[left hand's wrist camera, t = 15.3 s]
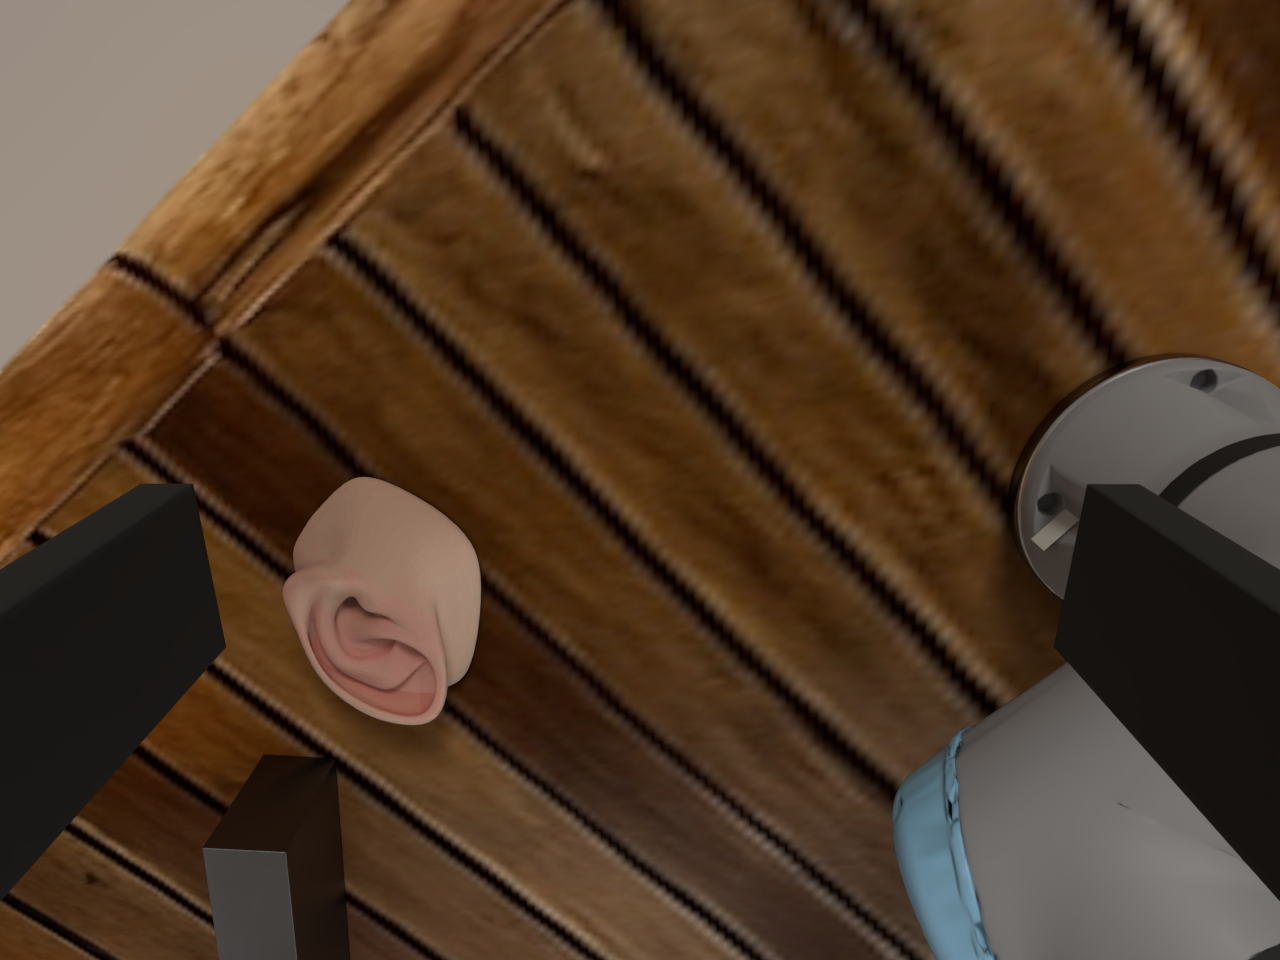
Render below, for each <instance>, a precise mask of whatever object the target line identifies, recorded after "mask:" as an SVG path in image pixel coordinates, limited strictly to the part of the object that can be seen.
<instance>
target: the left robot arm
mask: <svg viewBox="0 0 1280 960" xmlns="http://www.w3.org/2000/svg"><path fill="white" fill-rule="evenodd" d="M1010 521H1011V527H1012V532H1013V536H1014V539H1015V542H1016V545H1017V547H1018V550H1019V552H1020V554H1021V556H1022V558H1023V559H1024V561H1025V562H1026V564H1027V565H1028V567H1029V568H1030V569H1031V570H1032V572H1033V573H1034V574H1035V575H1036V576H1037V577H1038V578H1039V579H1040V580H1041V581H1042V582H1043V583H1044V584H1045V585H1046V586H1047V587H1048V588H1049V589H1050V590H1051V591H1052V592H1053V593H1055V594H1056V595H1057V596H1059V597H1060V598H1061V599H1063V605H1062V610H1061V615H1060V620H1059V625H1058V630H1057V635H1056V640H1055V645H1054V647H1055V649H1056V650H1057V651H1058V652H1059V653H1060V654H1061V655H1062V657H1063V658H1064V659H1065V660H1066V661H1067V662H1066V663H1065V664H1063V665H1062V666H1060V667H1059V668H1057V669H1056V670H1055V671H1053V672H1052V673H1050V674H1049V675H1047V676H1046V677H1045V678H1043V679H1042V680H1040V681H1039V682H1037V683H1036V684H1034V685H1033V686H1032V687H1030V688H1029V689H1027V690H1026V691H1024V692H1023V693H1022V694H1020V695H1019V696H1017V697H1016V698H1014V699H1013V700H1011V701H1010V702H1009V703H1007V704H1006V705H1004V706H1003V707H1001V708H1000V709H998V710H997V711H995V712H993V713H992V714H990V715H989V716H987V717H986V718H984V719H983V720H981V721H980V722H978V723H977V724H975V725H974V726H972V727H966V728H964V729H961V730H960V731H959V732H956V733H955V734H954V736H953V737H952V739H951V741H950V743H949V744H948V745H947V746H945V747H944V748H943V749H942V750H940V751H939V752H938V753H937V754H935V755H934V756H933V757H932V758H930V759H929V760H928V761H927V762H926V763H924V764H923V765H922V766H920V767H919V768H918V769H916V770H915V771H914V772H912V773H911V774H910V775H909V776H908V777H907V778H906V779H905V780H904V781H903V783H902V784H901V786H900V787H899V789H898V791H897V794H896V796H895V800H894V805H893V812H892V820H893V840H894V846H895V852H896V856H897V861H898V865H899V868H900V872H901V875H902V879H903V882H904V885H905V888H906V891H907V894H908V896H909V899H910V902H911V904H912V907H913V910H914V912H915V915H916V917H917V919H918V922H919V924H920V927H921V929H922V931H923V933H924V935H925V938H926V940H927V942H928V944H929V946H930V948H931V950H932V952H933V954H934V956H935V958H936V960H1280V389H1279V388H1278V387H1277V386H1275V385H1274V384H1272V383H1271V382H1269V381H1267V380H1266V379H1264V378H1262V377H1260V376H1259V375H1257V374H1255V373H1253V372H1252V371H1250V370H1248V369H1245V368H1243V367H1240V366H1238V365H1235V364H1232V363H1229V362H1226V361H1222V360H1219V359H1215V358H1212V357H1208V356H1203V355H1196V354H1184V353H1172V354H1160V355H1153V356H1147V357H1143V358H1139V359H1135V360H1132V361H1129V362H1125V363H1122V364H1120V365H1117V366H1115V367H1113V368H1110V369H1108V370H1106V371H1104V372H1102V373H1100V374H1098V375H1096V376H1095V377H1093V378H1091V379H1090V380H1088V381H1086V382H1085V383H1083V384H1082V385H1080V386H1079V387H1078V388H1076V389H1075V390H1074V391H1072V392H1071V393H1070V394H1068V395H1067V396H1066V397H1065V398H1064V399H1063V400H1062V401H1061V402H1059V403H1058V404H1057V405H1056V406H1055V407H1054V408H1053V410H1052V411H1051V412H1050V413H1049V414H1048V415H1047V416H1046V417H1045V419H1044V420H1043V421H1042V422H1041V424H1040V425H1039V426H1038V427H1037V429H1036V430H1035V432H1034V433H1033V435H1032V436H1031V438H1030V440H1029V441H1028V443H1027V445H1026V447H1025V449H1024V451H1023V453H1022V455H1021V457H1020V460H1019V462H1018V465H1017V468H1016V471H1015V474H1014V478H1013V482H1012V487H1011V494H1010ZM225 647H226V645H225V640H224V635H223V630H222V625H221V620H220V615H219V610H218V605H217V600H216V595H215V590H214V585H213V580H212V575H211V571H210V566H209V561H208V556H207V551H206V546H205V541H204V536H203V531H202V526H201V521H200V516H199V511H198V506H197V501H196V496H195V491H194V487H193V484H140V485H138V486H137V487H135V488H133V489H132V490H130V491H129V492H127V493H125V494H124V495H122V496H120V497H119V498H117V499H115V500H114V501H112V502H110V503H109V504H107V505H106V506H104V507H102V508H101V509H99V510H97V511H96V512H94V513H92V514H91V515H89V516H87V517H86V518H84V519H83V520H81V521H79V522H78V523H76V524H74V525H73V526H71V527H69V528H68V529H66V530H64V531H63V532H61V533H60V534H58V535H56V536H55V537H53V538H51V539H50V540H48V541H46V542H45V543H43V544H41V545H40V546H38V547H37V548H35V549H33V550H32V551H30V552H28V553H27V554H25V555H23V556H22V557H20V558H18V559H17V560H15V561H14V562H12V563H10V564H9V565H7V566H5V567H4V568H2V569H0V901H1V900H2V899H3V898H4V897H5V896H6V894H7V893H8V892H9V891H10V890H11V889H12V888H13V887H14V885H15V884H16V883H17V882H18V881H19V880H20V879H21V878H22V876H23V875H24V874H25V873H26V872H27V871H28V870H29V868H30V867H31V866H32V865H33V864H34V863H35V862H36V861H37V859H38V858H39V857H40V856H41V855H42V854H43V853H44V852H45V850H46V849H47V848H48V847H49V846H50V845H51V844H52V843H53V841H54V840H55V839H56V838H57V837H58V836H59V835H60V834H61V832H62V831H63V830H64V829H65V828H66V827H67V826H68V825H69V823H70V822H71V821H72V820H73V819H74V818H75V817H76V816H77V814H78V813H79V812H80V811H81V810H82V809H83V808H84V806H85V805H86V804H87V803H88V802H89V801H90V800H91V799H92V797H93V796H94V795H95V794H96V793H97V792H98V791H99V790H100V788H101V787H102V786H103V785H104V784H105V783H106V782H107V781H108V779H109V778H110V777H111V776H112V775H113V774H114V773H115V772H116V770H117V769H118V768H119V767H120V766H121V765H122V764H123V763H124V761H125V760H126V759H127V758H128V757H129V756H130V755H131V753H132V752H133V751H134V750H135V749H136V748H137V747H138V746H139V744H140V743H141V742H142V741H143V740H144V739H145V738H146V737H147V735H148V734H149V733H150V732H151V731H152V730H153V729H154V728H155V726H156V725H157V724H158V723H159V722H160V721H161V720H162V719H163V717H164V716H165V715H166V714H167V713H168V712H169V711H170V710H171V708H172V707H173V706H174V705H175V704H176V703H177V702H178V700H179V699H180V698H181V697H182V696H183V695H184V694H185V693H186V691H187V690H188V689H189V688H190V687H191V686H192V685H193V684H194V682H195V681H196V680H197V679H198V678H199V677H200V676H201V675H202V673H203V672H204V671H205V670H206V669H207V668H208V667H209V666H210V664H211V663H212V662H213V661H214V660H215V659H216V658H217V657H218V655H219V654H220V653H221V652H222V651H223V650H224V649H225Z"/></svg>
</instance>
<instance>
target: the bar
mask: <svg viewBox="0 0 1280 960" xmlns="http://www.w3.org/2000/svg"><path fill="white" fill-rule="evenodd" d="M203 855H204V861H205V868H206V875H207V882H208V888H209V895H210V902H211V908H212V915H213V922H214V929H215V935H216V942H217V949H218V955H219V960H350V955H349V942H348V928H347V914H346V901H345V887H344V873H343V860H342V846H341V833H340V819H339V805H338V792H337V778H336V764H335V759H330V758H312V757H294V756H276V755H263V757H262V758H261V760H260V761H259V763H258V764H257V766H256V767H255V769H254V770H253V772H252V773H251V775H250V777H249V778H248V780H247V781H246V783H245V784H244V786H243V787H242V789H241V790H240V792H239V793H238V795H237V796H236V798H235V799H234V801H233V803H232V804H231V806H230V807H229V809H228V810H227V812H226V813H225V815H224V816H223V818H222V819H221V821H220V822H219V824H218V826H217V827H216V829H215V830H214V832H213V833H212V835H211V836H210V838H209V839H208V841H207V842H206V844H205V845H204V847H203Z"/></svg>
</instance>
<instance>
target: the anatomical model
mask: <svg viewBox="0 0 1280 960" xmlns="http://www.w3.org/2000/svg"><path fill="white" fill-rule="evenodd" d="M293 559H294V566H295V571H296V572H295V573H294V574H292V575H291V576H290V577H289V578H288V579H287V581H286V582H285V584H284V587H283V599H284V602H285V605H286V608H287V610H288V612H289V615H290V617H291V619H292V622H293V624H294V627H295V629H296V631H297V634H298V636H299V639H300V641H301V644H302V646H303V648H304V650H305V653H306V655H307V657H308V659H309V661H310V663H311V664H312V666H313V668H314V670H315V671H316V673H317V674H318V675H319V677H320V678H321V679H322V681H323V682H324V683H325V684H326V685H327V686H328V687H329V688H330V689H331V690H332V691H333V692H334V693H335V694H337V695H338V696H339V697H340V698H342V699H343V700H344V701H345V702H347V703H348V704H350V705H352V706H353V707H355V708H356V709H358V710H360V711H361V712H363V713H365V714H367V715H369V716H372V717H374V718H377V719H380V720H383V721H387V722H391V723H396V724H402V725H420V724H425V723H428V722H430V721H432V720H433V719H435V718H436V717H437V716H438V714H439V713H440V712H441V710H442V708H443V706H444V703H445V699H446V695H447V687H448V686H450V685H452V684H454V683H456V682H458V681H459V680H460V679H461V678H462V677H463V676H464V675H465V673H466V672H467V670H468V668H469V666H470V663H471V660H472V657H473V654H474V650H475V644H476V639H477V633H478V626H479V617H480V603H481V579H480V568H479V563H478V559H477V556H476V553H475V550H474V548H473V546H472V544H471V543H470V541H469V540H468V538H467V537H466V536H465V534H464V533H463V532H462V531H461V530H460V529H459V528H458V527H457V526H456V525H455V524H454V523H453V522H452V521H451V520H450V519H448V518H447V517H446V516H445V515H444V514H442V513H441V512H439V511H438V510H437V509H435V508H434V507H432V506H431V505H429V504H428V503H426V502H424V501H423V500H421V499H419V498H418V497H416V496H414V495H412V494H410V493H409V492H407V491H405V490H403V489H401V488H399V487H397V486H394V485H392V484H390V483H388V482H385V481H382V480H379V479H375V478H370V477H358V478H354V479H352V480H350V481H348V482H346V483H345V484H343V485H342V486H341V487H340V488H338V489H337V490H336V491H335V492H334V493H333V494H332V495H331V496H330V497H329V498H328V499H327V500H326V501H325V502H324V503H323V505H322V506H321V507H320V508H319V509H318V510H317V511H316V512H315V513H314V515H313V516H312V517H311V518H310V520H309V521H308V523H307V525H306V526H305V528H304V529H303V531H302V533H301V534H300V536H299V538H298V540H297V542H296V544H295V547H294V552H293Z"/></svg>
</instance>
